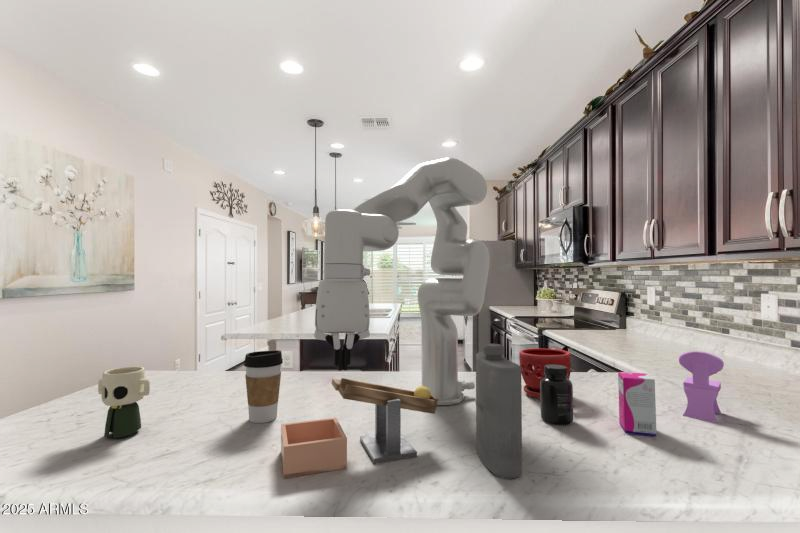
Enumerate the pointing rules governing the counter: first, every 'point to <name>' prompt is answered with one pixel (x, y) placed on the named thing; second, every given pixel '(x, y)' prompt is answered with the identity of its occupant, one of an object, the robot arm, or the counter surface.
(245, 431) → the counter surface
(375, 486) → the counter surface
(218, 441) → the counter surface
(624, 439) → the counter surface
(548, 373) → the supplement bottle
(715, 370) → the toy chair
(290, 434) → the pink open box
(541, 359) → the plant pot
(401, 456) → the pivot stand
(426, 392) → the ball
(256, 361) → the coffee cup
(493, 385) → the flask
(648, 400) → the supplement box
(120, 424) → the character mug
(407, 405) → the lever
